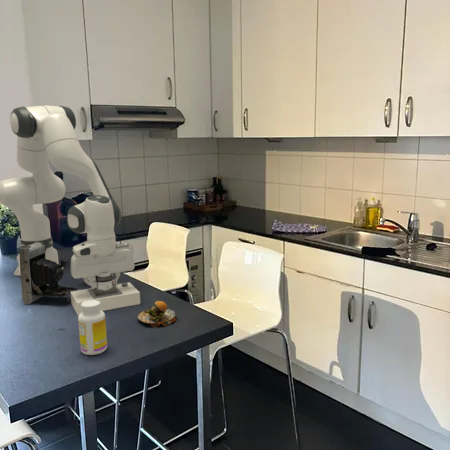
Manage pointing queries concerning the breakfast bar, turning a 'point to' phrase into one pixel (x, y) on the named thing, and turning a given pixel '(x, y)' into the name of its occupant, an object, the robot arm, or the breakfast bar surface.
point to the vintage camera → (40, 274)
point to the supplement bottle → (92, 328)
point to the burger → (158, 315)
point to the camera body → (107, 297)
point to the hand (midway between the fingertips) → (104, 286)
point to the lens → (104, 283)
